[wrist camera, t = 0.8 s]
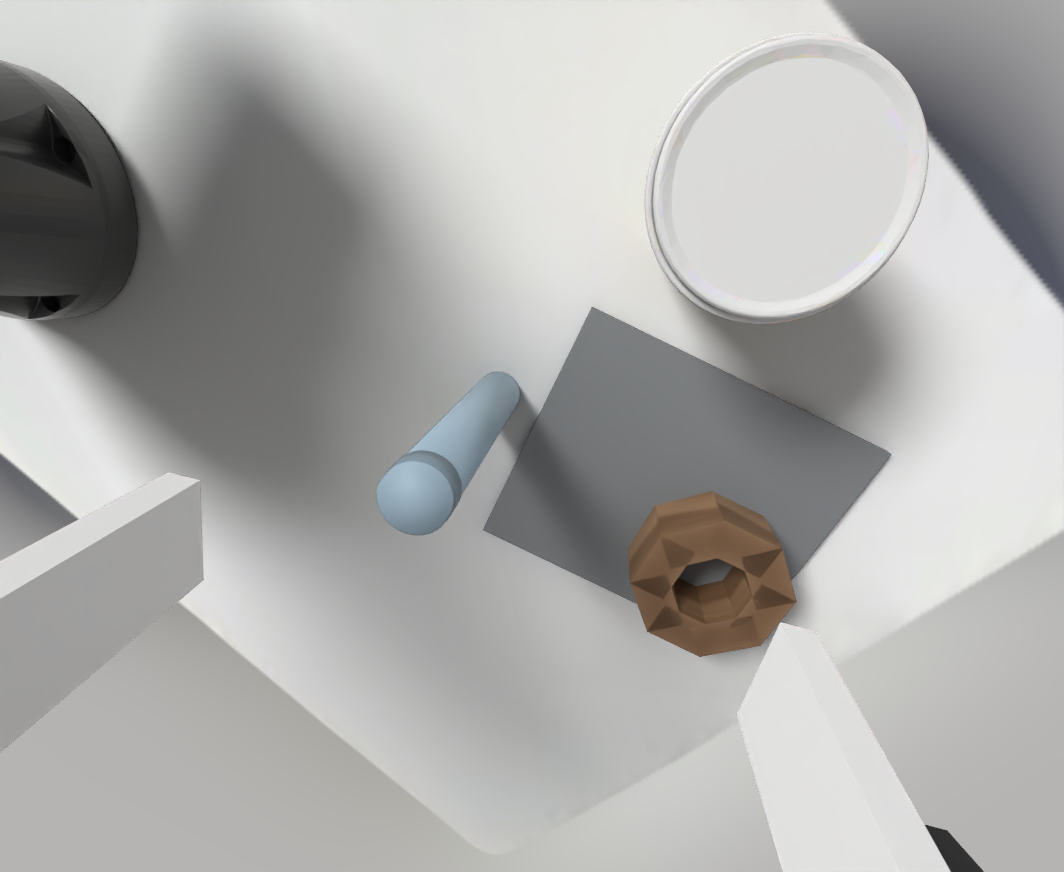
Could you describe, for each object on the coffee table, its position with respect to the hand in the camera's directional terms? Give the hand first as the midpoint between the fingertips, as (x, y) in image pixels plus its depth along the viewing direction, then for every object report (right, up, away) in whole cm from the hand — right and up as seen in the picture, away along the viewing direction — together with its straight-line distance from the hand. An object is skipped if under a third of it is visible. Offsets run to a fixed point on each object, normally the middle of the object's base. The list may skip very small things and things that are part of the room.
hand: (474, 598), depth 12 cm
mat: (+10, 0, +23) cm, 25 cm away
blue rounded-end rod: (-1, +6, +22) cm, 23 cm away
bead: (+13, -4, +24) cm, 27 cm away
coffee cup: (+12, +16, +17) cm, 26 cm away
